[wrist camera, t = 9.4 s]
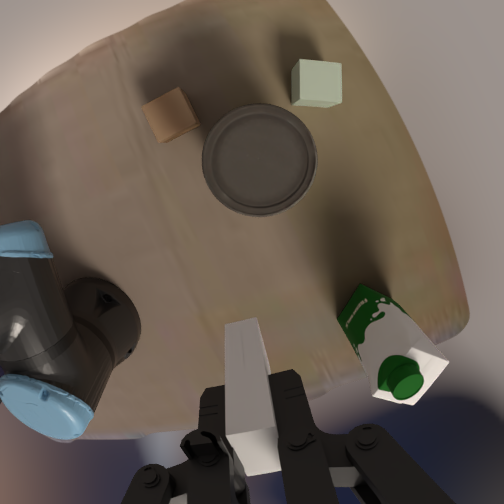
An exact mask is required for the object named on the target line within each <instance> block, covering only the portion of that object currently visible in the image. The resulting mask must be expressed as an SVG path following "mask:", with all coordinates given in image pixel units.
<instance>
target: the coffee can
mask: <svg viewBox="0 0 504 504" xmlns="http://www.w3.org/2000/svg"><path fill="white" fill-rule="evenodd" d="M202 169H203V174H204V178H205V180H206V183H207V185H208V187H209V189H210V190H211V192H212V193H213V195H214V196H215V197H216V198H217V199H218V200H219V201H220V202H221V203H222V204H223V205H225V206H226V207H227V208H229V209H231V210H233V211H235V212H237V213H239V214H242V215H246V216H252V217H267V216H273V215H277V214H280V213H282V212H285V211H286V210H288V209H290V208H292V207H293V206H294V205H296V204H297V203H298V202H299V201H300V200H301V199H302V198H303V197H304V196H305V195H306V193H307V192H308V190H309V189H310V187H311V185H312V183H313V181H314V178H315V175H316V170H317V150H316V145H315V142H314V140H313V137H312V135H311V133H310V132H309V130H308V129H307V127H306V126H305V125H304V123H303V122H302V121H301V120H300V119H299V118H298V117H296V116H295V115H294V114H292V113H291V112H289V111H287V110H285V109H283V108H281V107H278V106H275V105H271V104H261V103H260V104H249V105H244V106H241V107H238V108H236V109H234V110H232V111H230V112H228V113H227V114H225V115H224V116H223V117H222V118H221V119H219V120H218V121H217V123H216V124H215V125H214V126H213V127H212V129H211V130H210V132H209V134H208V136H207V138H206V140H205V143H204V146H203V152H202Z"/></svg>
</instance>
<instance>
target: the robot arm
mask: <svg viewBox="0 0 504 504" xmlns="http://www.w3.org/2000/svg"><path fill="white" fill-rule="evenodd" d="M140 334H141V323H140V318H139V315H138V312H137V310H136V308H135V306H134V305H133V303H132V302H131V300H130V299H129V298H128V297H127V296H126V295H125V294H124V293H123V292H122V291H121V290H120V289H118V288H117V287H116V286H114V285H112V284H111V283H109V282H106V281H104V280H101V279H97V278H81V279H78V280H75V281H73V282H72V283H70V284H69V285H68V286H67V287H66V288H65V289H64V290H63V289H62V286H61V283H60V280H59V277H58V274H57V271H56V267H55V264H54V261H53V254H52V253H51V252H50V249H49V247H48V244H47V241H46V238H45V235H44V232H43V229H42V227H41V226H40V225H39V224H38V223H37V222H35V221H32V220H24V221H19V222H14V223H9V224H5V225H0V366H1V367H2V369H3V371H4V375H3V376H1V378H0V398H1V400H2V402H3V403H4V405H5V406H6V407H7V408H8V410H9V411H10V412H11V413H12V414H13V415H14V416H15V417H16V418H18V419H19V420H20V421H21V422H23V423H24V424H26V425H27V426H29V427H30V428H32V429H34V430H35V431H37V432H39V433H42V434H44V435H47V436H49V437H53V438H57V439H74V438H77V437H79V436H80V435H81V434H82V433H83V432H84V431H85V429H86V427H87V425H88V423H89V421H90V420H91V419H92V418H93V416H94V412H95V410H96V407H97V405H98V402H99V400H100V398H101V395H102V393H103V391H104V388H105V386H106V384H107V381H108V379H109V377H110V375H111V372H112V370H113V369H114V368H115V367H116V366H117V365H119V364H120V363H121V362H123V361H124V360H125V359H127V358H128V357H129V356H130V355H131V354H132V352H133V351H134V349H135V348H136V345H137V343H138V341H139V338H140ZM180 447H181V449H182V450H183V451H184V453H185V454H186V456H187V457H188V460H187V461H185V462H183V463H182V464H179V465H176V466H173V467H170V468H167V469H166V468H164V466H161V465H159V464H149V465H146V466H144V467H142V468H141V469H139V470H138V471H137V472H136V474H135V475H134V477H133V479H132V481H131V484H130V486H129V488H128V490H127V492H126V494H125V496H124V498H123V500H122V502H121V504H250V495H249V488H248V485H247V483H246V481H245V473H246V474H247V476H252V475H259V474H265V473H270V472H275V471H280V470H281V471H282V477H283V483H284V489H285V495H286V501H287V504H339V502H338V498H337V495H336V491H335V488H334V487H350V488H351V490H352V491H353V493H354V494H355V495H356V497H357V498H358V500H359V501H360V502H361V504H456V503H455V502H454V501H453V500H452V499H451V498H450V497H449V496H448V495H447V494H446V493H445V492H444V491H443V490H442V489H441V488H440V487H439V486H438V485H437V484H436V483H435V482H434V481H433V480H432V479H431V478H430V477H429V476H428V475H427V473H425V472H424V470H423V469H422V468H421V467H420V466H419V465H418V464H417V463H416V462H415V461H414V460H413V459H412V458H411V457H410V456H409V454H407V452H406V451H405V450H404V449H403V448H402V447H401V446H400V445H399V444H398V443H397V442H396V441H395V440H394V439H393V437H392V436H391V435H390V434H389V433H388V432H387V431H386V430H385V429H384V428H382V427H381V426H379V425H375V424H363V425H360V426H357V427H355V428H354V429H353V430H351V431H350V432H349V434H340V435H336V434H328V433H324V432H322V431H321V430H319V429H318V428H317V427H316V425H315V423H314V420H313V417H312V414H311V410H310V407H309V404H308V400H307V397H306V394H305V390H304V387H303V384H302V380H301V377H300V375H299V374H297V373H296V372H295V371H294V370H293V369H291V370H287V371H283V372H279V373H274V374H271V371H270V366H269V361H268V357H267V354H266V350H265V346H264V343H263V339H262V335H261V332H260V328H259V324H258V321H257V317H255V318H251V319H247V320H242V321H238V322H234V323H229V324H225V385H222V386H216V387H211V388H206V389H205V391H204V392H203V394H202V396H201V398H200V410H199V422H198V429H197V430H194V431H192V432H190V433H189V434H187V435H186V436H185V437H184V438H183V439H182V442H181V444H180Z"/></svg>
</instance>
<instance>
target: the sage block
mask: <svg viewBox="0 0 504 504" xmlns="http://www.w3.org/2000/svg"><path fill="white" fill-rule="evenodd" d="M340 103H342V70H341V63H334V62H325V61H316V60H305V59H299V61H298V62H297V63H296V65H295V66H294V67H293V68H292V70H291V105H298V106H314V107H326V108H329V107H331V106H334V105H337V104H340Z"/></svg>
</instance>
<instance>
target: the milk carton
mask: <svg viewBox="0 0 504 504" xmlns="http://www.w3.org/2000/svg"><path fill="white" fill-rule="evenodd" d="M337 320H338V322H339V324H340V325H341V327H342V329H343V331H344V332H345V334H346V336H347V338H348V339H349V341H350V343H351V345H352V347H353V349H354V351H355V353H356V354H357V356H358V358H359V360H360V362H361V364H362V366H363V368H364V370H365V372H366V374H367V376H368V378H369V383H370V387H371V392H372V396H374V397H377V398H381V399H385V400H389V401H393V402H396V403H405V404H410V405H414V404H415V403H416V402H417V401H418V400H419V399H420V397H421V396H422V395H423V394H424V393H425V392H426V390H427V389H428V388H429V387H430V386H431V385H432V383H433V382H434V381H435V380H436V378H437V377H438V376H439V375H440V373H441V372H442V371H443V370H444V368H445V367H446V366H447V365H448V363H449V361H448V360H447V359H446V357H445V356H444V355H443V354H442V353H441V352H440V351H439V349H438V348H437V347H436V346H435V345H434V344H433V343H432V342H431V340H430V339H429V338H428V337H427V336H426V335H425V333H424V332H423V331H422V330H421V329H420V328H419V326H418V325H417V324H416V323H415V322H414V321H413V320H412V318H411V317H410V316H409V315H408V314H407V313H406V312H405V311H404V310H403V308H402V307H401V306H400V305H399V304H398V303H396V302H395V301H394V300H393V299H391V298H389V297H387V296H385V295H383V294H381V293H379V292H377V291H375V290H373V289H371V288H368V287H366V286H364V285H362V284H359V286H358V288H357V289H356V291H355V292H354V294H353V296H352V297H351V299H350V300H349V302H348V303H347V305H346V306H345V308H344V310H343V311H342V313H341V314H340V316H339V317H338V319H337Z"/></svg>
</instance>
